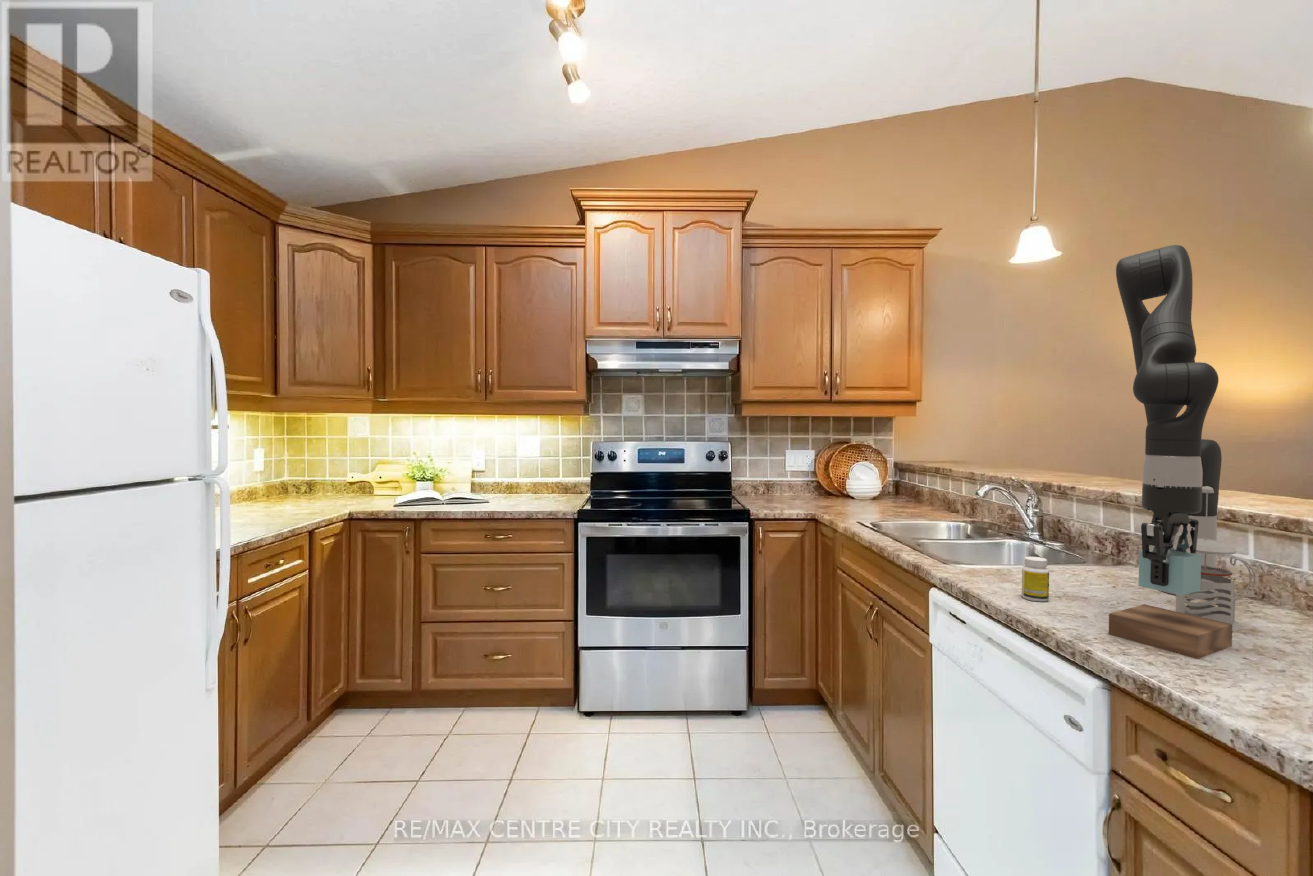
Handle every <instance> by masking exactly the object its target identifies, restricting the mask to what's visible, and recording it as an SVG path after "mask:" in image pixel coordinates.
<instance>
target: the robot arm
mask: <svg viewBox="0 0 1313 876" xmlns="http://www.w3.org/2000/svg"><path fill="white" fill-rule="evenodd" d="M1115 277H1116V283H1117V288H1118V292H1119V295H1120V299H1121V302H1122V306H1123V309H1124V312H1125V318H1126V321H1127V324H1128V329H1129V333H1130V338H1131V343H1132V349H1133V357H1134V363H1135V364H1134V365H1135V369H1136V375H1135V376H1134V381H1133V385H1132V393H1133V395H1134V398H1136V400H1137V401H1139V402H1140V403H1142V404H1143V407H1144V411H1145V417H1146V423H1147V425H1146V428H1145V437H1144V439H1145V446H1144V447H1145V448H1144V454H1145V455H1144V461H1143V465H1142V484H1141V487H1142V488H1141V490H1142V491H1141V507H1142V508H1143V509H1144V510H1147V511H1152V512H1153V514H1152V519H1151V523H1150V522H1149V523H1147V522H1141V525H1140V527H1141V528H1140V533H1141V551H1142V555H1143V558H1147V559H1148V560H1149V561H1151V574H1150V582H1151V583H1152V584H1155V585H1160V586H1167V585H1168V582H1169V564H1168V563H1169V560H1170V556H1171V552H1173V551H1181V552H1185V553H1193V554H1200V555H1201V565H1202V566H1204V565H1205V553H1199V552H1196V547H1197V539H1202V538H1205V528H1206V493H1202V487H1204V486H1208V487H1211V488H1213V490H1214V493H1208V505H1207V538H1208V539H1210V540H1214V541H1217V539H1218V538H1217V535H1218V531H1217V529H1218V507H1219V506H1218V505H1219V495H1220V493H1219V492H1220V479H1221V471H1222V456H1223V455H1222V450H1221V446H1220V444H1219V443H1218V442H1217V441H1216V440H1213V439H1202V434H1203V428H1204V423H1205V420H1206V417H1207V414H1208V410H1209V407H1210V405H1211V403H1212V401H1213V399H1214V397H1215V395H1216V393H1217V392H1216V391H1217V388H1218V386H1219V374H1218V372H1217V370H1216V369H1215V368H1214V367H1213V366H1212V365H1211V364H1209V363H1208V362H1207V363H1206V362H1200V361H1198V362H1196V360H1195V359H1196V356H1197V344H1196V340H1195V336H1194V330H1193V325H1192V324H1193V322H1192V312H1193V311H1192V308H1193V284H1194V283H1193V269H1192V263H1191V259H1190V256H1189V253H1188V250H1187V249H1186V248H1185V247H1184V246H1183V245H1180V244H1173V245H1167V246H1162V247H1159V248H1154V249H1151V250H1147V251H1144V252H1140V253H1136V254H1133V255H1129V256H1124V257H1123V258H1121V259H1118V261H1117V263H1116V266H1115ZM1163 296H1165V297H1164V298H1163V299H1162V301H1160V302H1159V304H1158V305H1157V306H1156V307H1155V308H1154V309H1153V310H1152V311H1151V313H1150V311H1148V309H1147V307H1146V305H1145V304H1144V302H1143V301H1145V300H1149V299H1154V298H1159V297H1163ZM1185 406H1186V407H1185ZM1183 407H1185V410H1184V411H1183V413H1182V414H1180V415H1178V414H1179V413H1180V412H1181V411H1182V410H1183ZM1149 549H1150V551H1149ZM1156 552H1157V553H1156ZM1206 566H1207V567H1208V566H1209V567H1212V568H1213V567H1214V568H1215V567H1216V568H1217V554H1207V553H1206ZM1201 581H1204V582H1212V581H1209V580H1206V579H1201ZM1212 583H1214V582H1212ZM1208 591H1211V592H1214V593H1216V590H1214V589H1213V590H1208ZM1164 592H1165V591H1163V593H1164ZM1165 593H1167V594H1171V595H1175V596H1176V594H1174V593H1170V592H1165ZM1190 595H1197V596H1201V595H1206V593H1193V594H1190ZM1210 598H1212V599H1214V597H1210Z"/></svg>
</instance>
